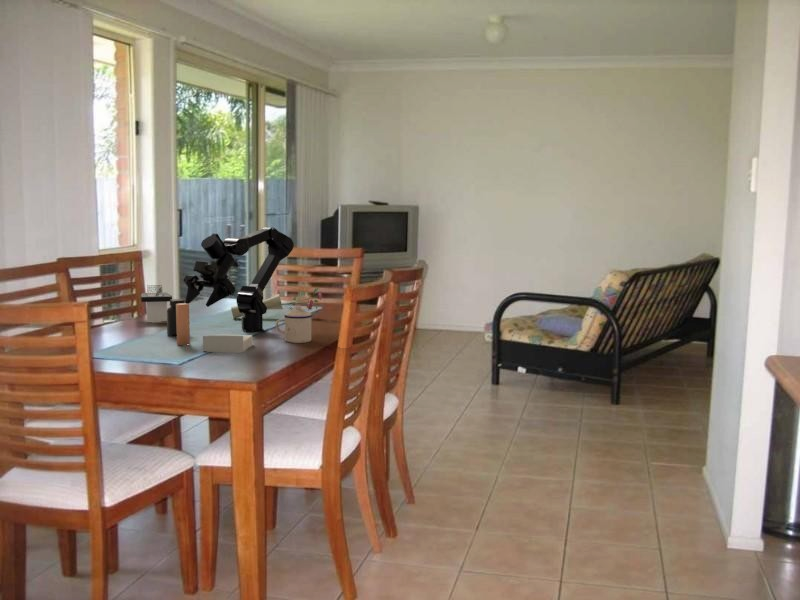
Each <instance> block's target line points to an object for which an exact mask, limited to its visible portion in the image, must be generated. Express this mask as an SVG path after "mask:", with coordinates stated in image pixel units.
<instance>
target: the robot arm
mask: <svg viewBox="0 0 800 600" xmlns="http://www.w3.org/2000/svg"><path fill="white" fill-rule="evenodd" d="M264 242H265V245H267V252H268V253H267V256H266V257H265V259H264V261H263V262H262V264H261V266H260V268H259V269H258V271H257V273H256V275H255V276H254V278H253V279H252V281H251V283H250V284H249V285H242V286H241V287H240V290H239V291H238V292H237V297H236V306H238V309H239V313H243V316H241V330H242V331H244V332H245V331H246V333H248V332H249V333H250V332H265V329H264V328H263V320H264V319H263V315H266V314H267V311H268V310H267V307H266V305H265V304H264V303H263V302H262V301H264V291H265V289H266V287H267V284H268V283H269V281H270V280H271V277H272V276H273V274H274V273H275V271H276V269H277V268H278V266H279V264H280V262H281V261H282V260H283V259H285V258H286V257H288V256H290V254H291V252H292V251H294V245H295V243H294V241H293V239H292V237H289V236H288V235H286V234H284V233H283V232H281V231H279V230H278V229H277V228H275V227H273V226H272V227H271V226H270V227H269V226H264V227H262V228H261V229H258V230H256V231H254V232H250V233H249V234H246V235H243V236H237V237H228V238H225V239H224V240H222V239H221V237H220V235H219V234H218V233H215V232H214V233H212V234H211V235H209V236H207V237H206V238H204V239H203V240H202V241H201V244H200V245H201V248H202V249H203V251H204V252H205V253H206V254H207V255H208V257H209V258H210V259H212V260H213V261H212V260H210V261H208V262H206V261H200V260H199V261H197V260H196V261H195V263H194V265H193V269H192V271H193V272H196V273H198V274H199V277H200V278H201V279H200V278H199V277H198V275H194V274H192V275H191V274H188V275H185V277H184V278H183V282H184V283H185V285H186V287H187V291H186V292H187V293H186V298H185V299H184V303H186V304H189V305H190V303H191V302H192V301H194V300H195V298H197V297H198V296H199V295H200V294H201V291H203V290H204V288H209V289H213V290H212V292H211V294H210V296H209V297H208V299H207V301H206V303H205V306H206V307H210V306H212V305H214V304H215V303H217V302H219V301H221V300H223V299H225V298H227V297H230V296H233V295H234V294H235V292H236V286H235V285H234V284H233V283H232V281H231V279H230V278H229V275H228V273H229V272H230V270H231V268H232V267H233V268H238V267H239V263H238V259H237V258H235V257H234V256H236V257H237V256H238V257H241V256H244V255H245V254H246V253H248V252H249V250H250V249H251V248H253V247H255V246H258V245H259V244H262V243H264Z"/></svg>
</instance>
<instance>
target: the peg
mask: <svg viewBox="0 0 800 600" xmlns="http://www.w3.org/2000/svg"><path fill="white" fill-rule="evenodd" d="M190 326H191V325H190V303H189V304H186V303H185V302H184V303H180V304H176V327H177V336H176V345H177V344H178V345H186V346H188V345H187V344H190V345H191V342H190V341H191V340H190V339H191V336H190V335H191V334H190V329H191V328H190ZM178 345H177V346H178Z"/></svg>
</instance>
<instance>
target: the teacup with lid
mask: <svg viewBox="0 0 800 600" xmlns="http://www.w3.org/2000/svg"><path fill="white" fill-rule="evenodd" d="M312 317H313V315H312V313H311V312H309V311H307V310H306V309H303V308H302V306H301V305H295V306H294V309H293V308H292V310H291V309H290V311H287V312H285V313H284V318H279V319H277V320H276V321H275V329H276V330H277V332H278V333H280V334H283V335H284V336H285V337H284V340H285V341H286V342H287V343H292V344H302V343H309V342H311V341H312ZM280 322H284V331H283V330H281V329H280V328H279V323H280Z"/></svg>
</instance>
